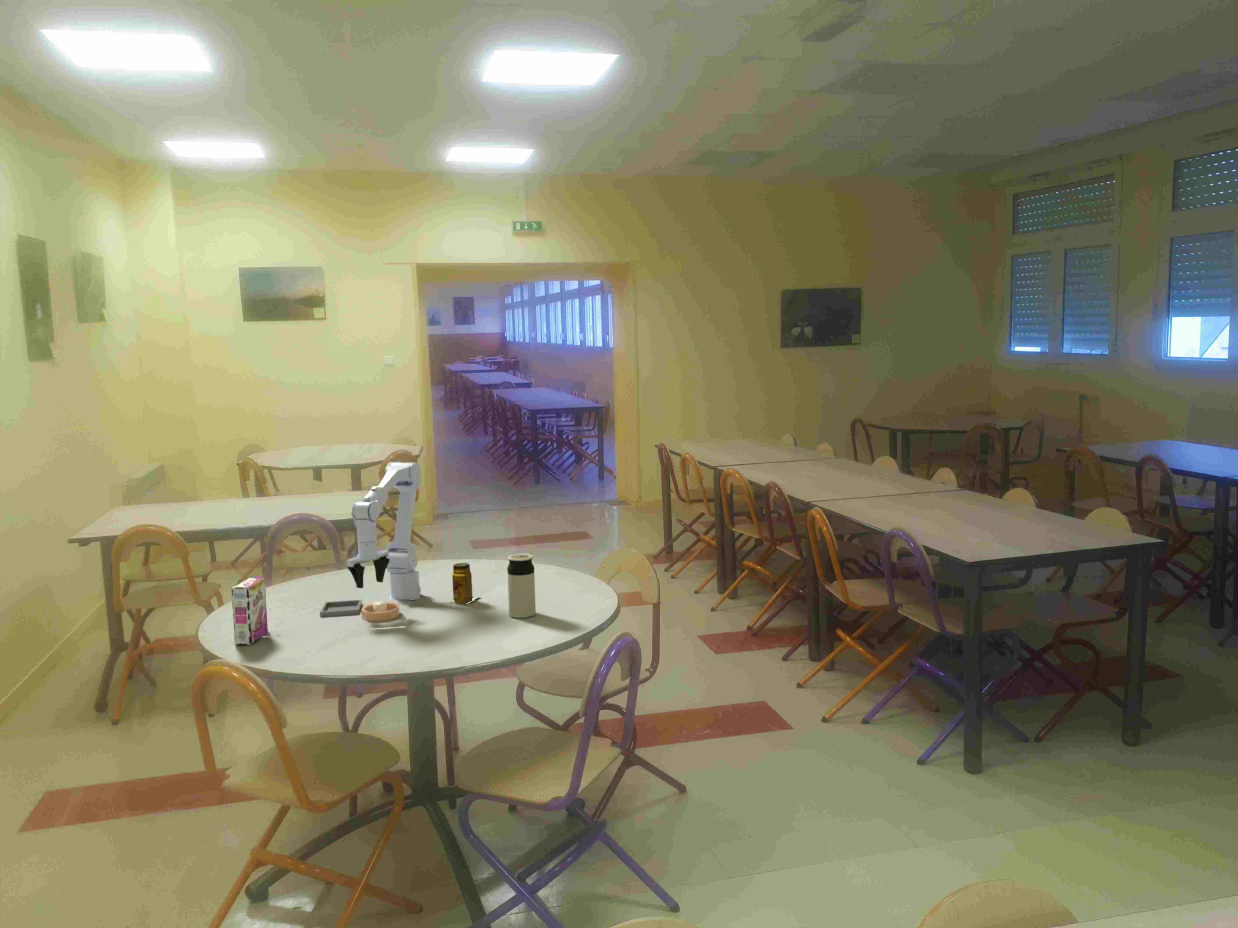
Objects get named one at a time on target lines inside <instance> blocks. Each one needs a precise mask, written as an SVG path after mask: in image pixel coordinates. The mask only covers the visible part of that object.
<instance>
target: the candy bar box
mask: <svg viewBox="0 0 1238 928" xmlns="http://www.w3.org/2000/svg"><path fill="white" fill-rule="evenodd" d="M265 579H266V578H265V577H249V578H246V579H245V580H243V581H242V582H240V583H238V584H235V585H234V586H232V587H231V601H232V616H233V617H232V619H233V634H234V636H233V637H234V645H235V646H252V645H254V644H255V643H256V642H257V641H258V640H260V639H261V638H263V637H264V636H265V634H266V633H267V632H268V631H269V628H268V627H269V626H268V613H267V611H268V610H267V595H266V594H267V593H266V580H265Z"/></svg>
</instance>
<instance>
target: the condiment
mask: <svg viewBox="0 0 1238 928" xmlns="http://www.w3.org/2000/svg"><path fill="white" fill-rule="evenodd" d="M452 568H453V569H452V574H451V575H452V576H451V578H452V593H453V594H452V598H453V600H454V603H453V602H452V603H451V602H450V601H449V602H448V603H449V604H454V605H455V604H456V603H468V602H470V601H472V598H473V597H474V596H473V579H472V577H473V576H472V572H471V565H470V564H469V563H467V562H458V563H455V564H453V566H452ZM456 605H457V604H456Z"/></svg>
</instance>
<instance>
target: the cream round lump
mask: <svg viewBox="0 0 1238 928" xmlns="http://www.w3.org/2000/svg"><path fill="white" fill-rule="evenodd" d="M372 604H373V610H374V612H385V611H387V601H384V600H383V601H382V600H381V601H380V600H379V601H375V602H373V603H372Z"/></svg>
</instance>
